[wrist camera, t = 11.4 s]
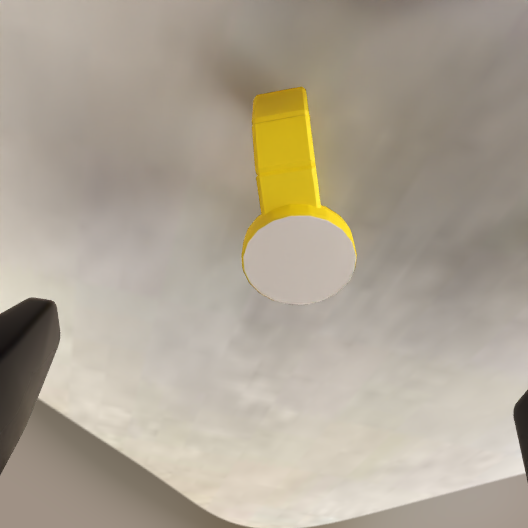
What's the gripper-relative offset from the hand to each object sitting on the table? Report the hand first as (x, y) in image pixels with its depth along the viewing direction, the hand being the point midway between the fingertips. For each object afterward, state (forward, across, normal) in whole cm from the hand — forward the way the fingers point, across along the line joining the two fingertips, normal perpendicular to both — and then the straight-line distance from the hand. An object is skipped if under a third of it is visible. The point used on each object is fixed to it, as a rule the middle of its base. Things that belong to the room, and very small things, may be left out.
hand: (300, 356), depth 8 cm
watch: (+9, 0, 0) cm, 9 cm away
